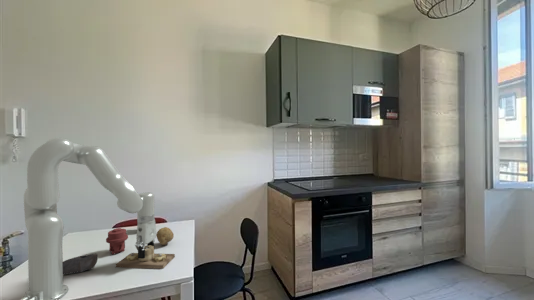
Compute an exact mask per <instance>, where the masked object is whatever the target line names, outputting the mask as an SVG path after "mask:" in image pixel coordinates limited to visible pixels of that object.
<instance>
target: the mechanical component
mask: <svg viewBox="0 0 534 300" xmlns="http://www.w3.org/2000/svg"><path fill="white" fill-rule="evenodd" d="M128 239H129V235H128V234H127V229H125V228H121V227H117V228H113V229H111V230H109V231H108V232H107V237H106V239H105V243H108V244H109V252H111V255H116V254H119V253H123V252H125V250H126V249H125V248H126V241H127V240H128Z"/></svg>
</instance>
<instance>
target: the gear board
mask: <svg viewBox="0 0 534 300" xmlns="http://www.w3.org/2000/svg"><path fill="white" fill-rule="evenodd" d="M145 249H148V248H145ZM175 257H176V255H175V254H174V253H154V258H153V259H151V260H149V261H139V258H138V252H131V253H129V254H128V255H126V256H125V257H123V258H122V259H121V260H119V261H118V262H116V263H115V268H124V269H126V268H130V269H132V268H133V269H161V270H162V269H164V268H165V267H167V266H168V265H169V263H171V262H172V260H173V259H174V258H175Z"/></svg>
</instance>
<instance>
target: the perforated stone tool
mask: <svg viewBox="0 0 534 300" xmlns="http://www.w3.org/2000/svg"><path fill="white" fill-rule="evenodd" d="M98 259H99V258H98V254H97V253H90V254H85V255H84V254H82V255H79V256H75V257H72V258H69V259H65V260H64V261H63V275H69V274H78V273H83V272H85V271H90V270H92V269H93V268H94V267H96V265H97V263H98Z"/></svg>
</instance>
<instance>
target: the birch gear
mask: <svg viewBox="0 0 534 300" xmlns="http://www.w3.org/2000/svg"><path fill="white" fill-rule="evenodd" d="M145 248H148V249H145ZM145 248H144V250H145V258H144V259H143V258H139V261H149V260H151V259H153V258H154V254H155V245H154V246H151V245H148V246H147V245H145Z"/></svg>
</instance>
